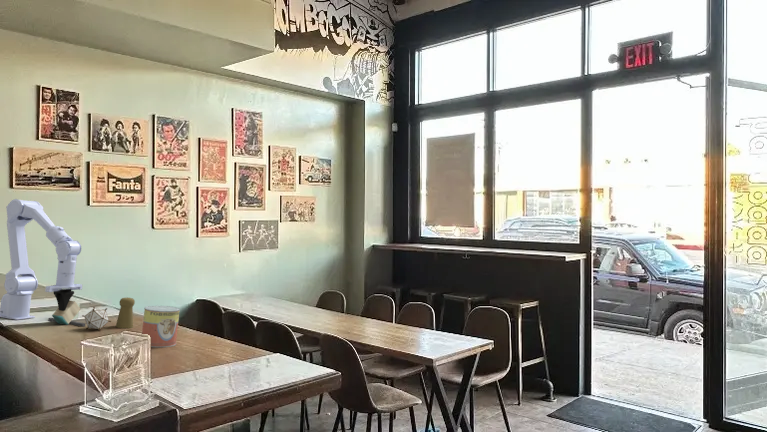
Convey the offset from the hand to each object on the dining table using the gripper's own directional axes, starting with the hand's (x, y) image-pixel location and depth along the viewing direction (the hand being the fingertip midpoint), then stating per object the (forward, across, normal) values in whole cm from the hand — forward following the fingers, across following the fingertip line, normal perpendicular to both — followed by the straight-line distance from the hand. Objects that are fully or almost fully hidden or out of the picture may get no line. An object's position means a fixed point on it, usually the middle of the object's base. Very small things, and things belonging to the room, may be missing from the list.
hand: (62, 310), depth 205 cm
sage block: (+5, +11, +7) cm, 14 cm away
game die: (+6, +1, -15) cm, 16 cm away
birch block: (+4, 0, 0) cm, 4 cm away
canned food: (+6, -3, -45) cm, 45 cm away
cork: (+6, +12, -18) cm, 22 cm away
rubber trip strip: (+5, +3, 0) cm, 6 cm away
